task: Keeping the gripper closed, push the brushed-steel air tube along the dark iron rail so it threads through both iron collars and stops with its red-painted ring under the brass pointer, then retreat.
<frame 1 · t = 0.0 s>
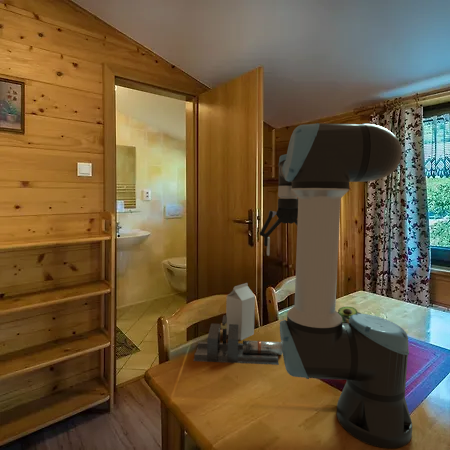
hand: (286, 255, 118), 28 cm above the table, fingers open, 13 cm apart
milk carton: (239, 337, 112), on the table
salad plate: (348, 323, 127), on the table
air tube: (262, 347, 98), point 3 cm above the table, slide at 0.0 cm
collar rail: (236, 356, 99), on the table
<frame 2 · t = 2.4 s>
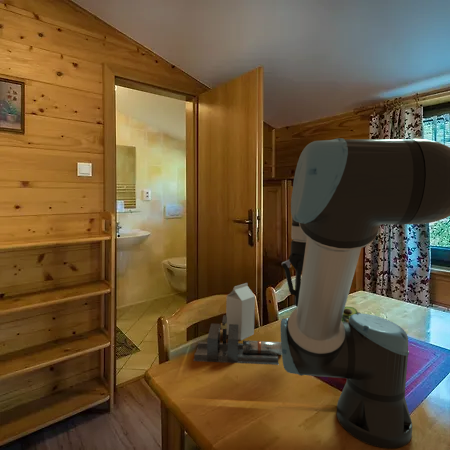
hand: (300, 316, 97), 13 cm above the table, fingers closed
nothing on the table moved.
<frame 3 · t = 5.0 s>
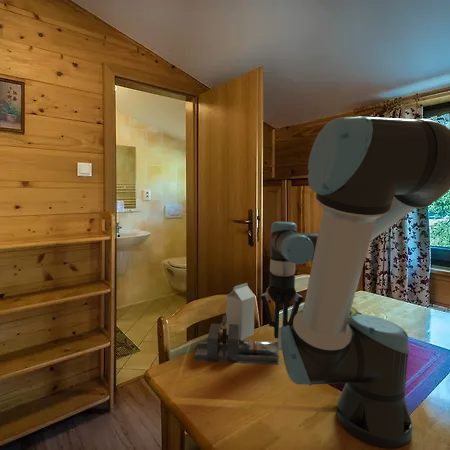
hand: (279, 347, 98), 3 cm above the table, fingers closed
air tube: (258, 347, 98), point 3 cm above the table, slide at 1.3 cm, touching gripper
everything else where it was.
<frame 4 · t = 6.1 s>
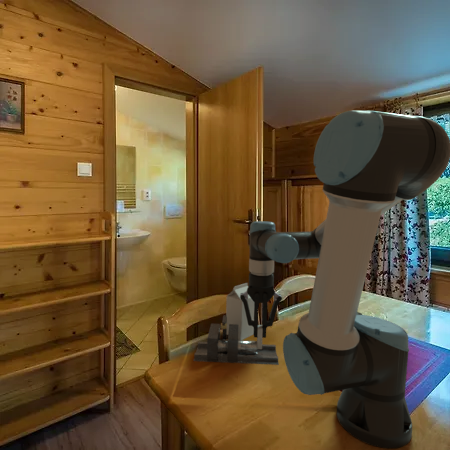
hand: (259, 346, 98), 3 cm above the table, fingers closed
air tube: (237, 346, 98), point 3 cm above the table, slide at 7.6 cm, touching gripper
everything else where it was.
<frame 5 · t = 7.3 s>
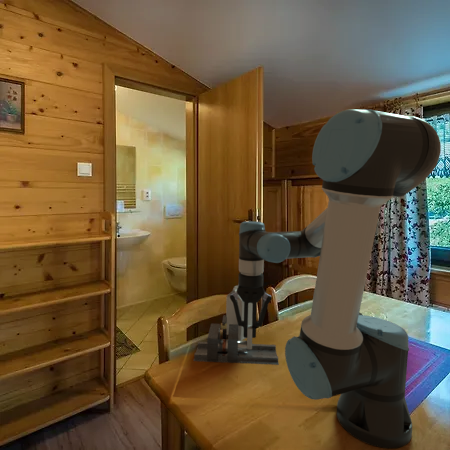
hand: (249, 347, 98), 3 cm above the table, fingers closed
air tube: (227, 346, 99), point 3 cm above the table, slide at 10.7 cm, touching gripper
everything else where it was.
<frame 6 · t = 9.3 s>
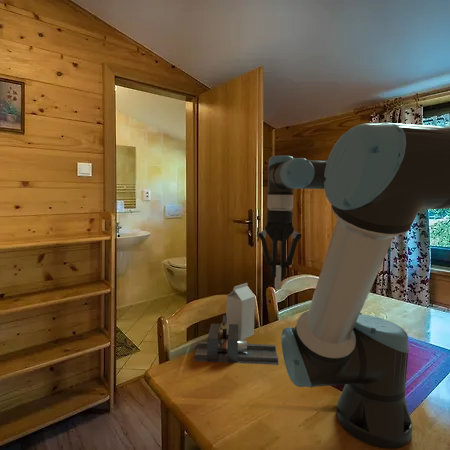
hand: (277, 287, 96), 22 cm above the table, fingers closed
air tube: (227, 346, 99), point 3 cm above the table, slide at 10.7 cm
everything else where it was.
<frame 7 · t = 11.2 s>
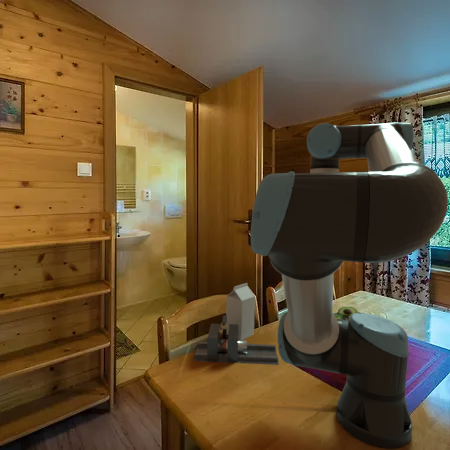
hand: (320, 270, 88), 29 cm above the table, fingers closed
nothing on the table moved.
at the end: air tube slide at 10.7 cm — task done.
